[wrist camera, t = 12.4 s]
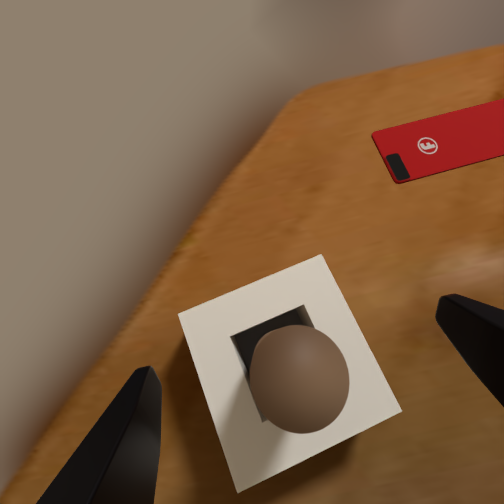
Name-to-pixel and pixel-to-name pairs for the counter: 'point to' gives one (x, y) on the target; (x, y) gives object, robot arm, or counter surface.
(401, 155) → the electronic device
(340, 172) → the counter surface
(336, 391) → the walnut pin
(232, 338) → the bore block
